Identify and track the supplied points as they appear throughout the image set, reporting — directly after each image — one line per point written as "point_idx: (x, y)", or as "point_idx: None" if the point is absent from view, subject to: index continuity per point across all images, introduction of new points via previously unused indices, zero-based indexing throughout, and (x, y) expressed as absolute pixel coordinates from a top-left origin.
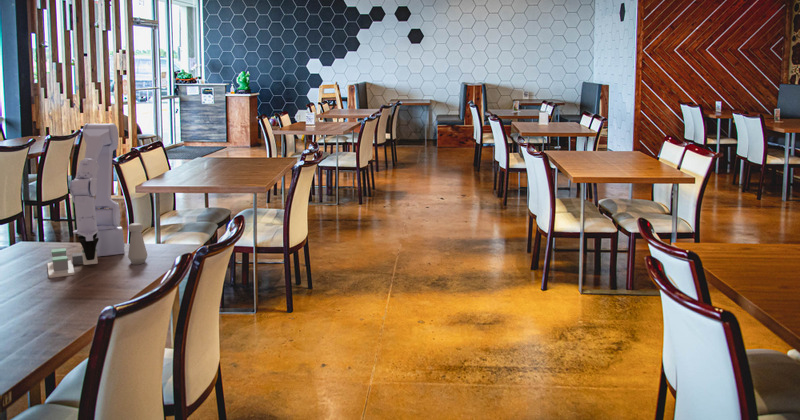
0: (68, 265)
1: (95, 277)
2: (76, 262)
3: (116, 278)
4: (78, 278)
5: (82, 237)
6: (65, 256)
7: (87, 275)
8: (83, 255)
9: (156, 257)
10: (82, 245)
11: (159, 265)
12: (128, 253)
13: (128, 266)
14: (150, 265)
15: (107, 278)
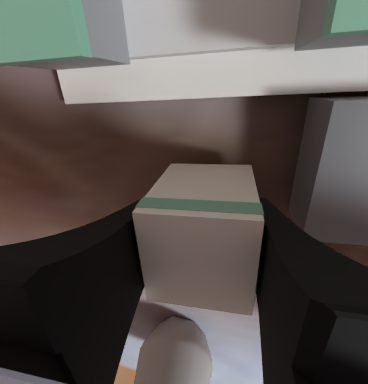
0: (239, 65)
1: (24, 187)
2: (310, 122)
3: (9, 244)
4: (15, 120)
5: (292, 336)
6: (48, 39)
7: (56, 161)
8: (150, 191)
9: (225, 378)
10: (34, 244)
11: (126, 355)
12: (173, 356)
13: (145, 301)
14: (134, 343)
15: (10, 221)
